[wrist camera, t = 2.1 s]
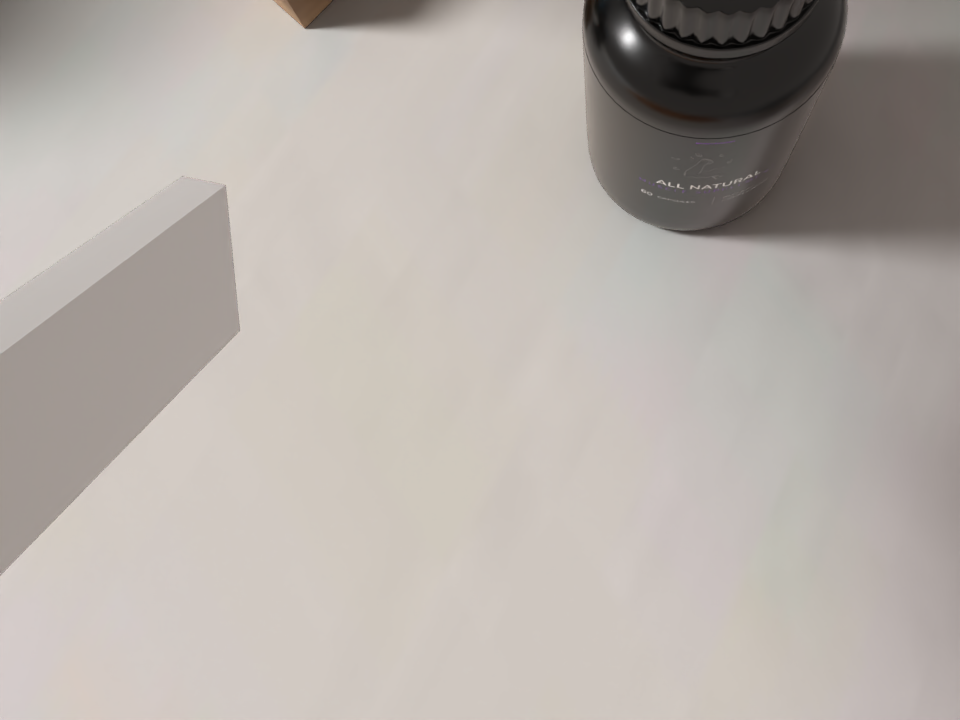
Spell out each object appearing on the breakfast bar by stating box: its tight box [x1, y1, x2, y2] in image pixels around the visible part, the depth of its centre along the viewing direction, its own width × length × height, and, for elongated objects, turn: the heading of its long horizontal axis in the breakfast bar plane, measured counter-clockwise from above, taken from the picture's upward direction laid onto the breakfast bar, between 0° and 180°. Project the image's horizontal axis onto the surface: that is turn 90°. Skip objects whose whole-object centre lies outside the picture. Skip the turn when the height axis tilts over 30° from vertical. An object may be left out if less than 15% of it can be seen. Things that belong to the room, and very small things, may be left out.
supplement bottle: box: [583, 0, 848, 231], centre depth 26 cm, size 7×7×12 cm
